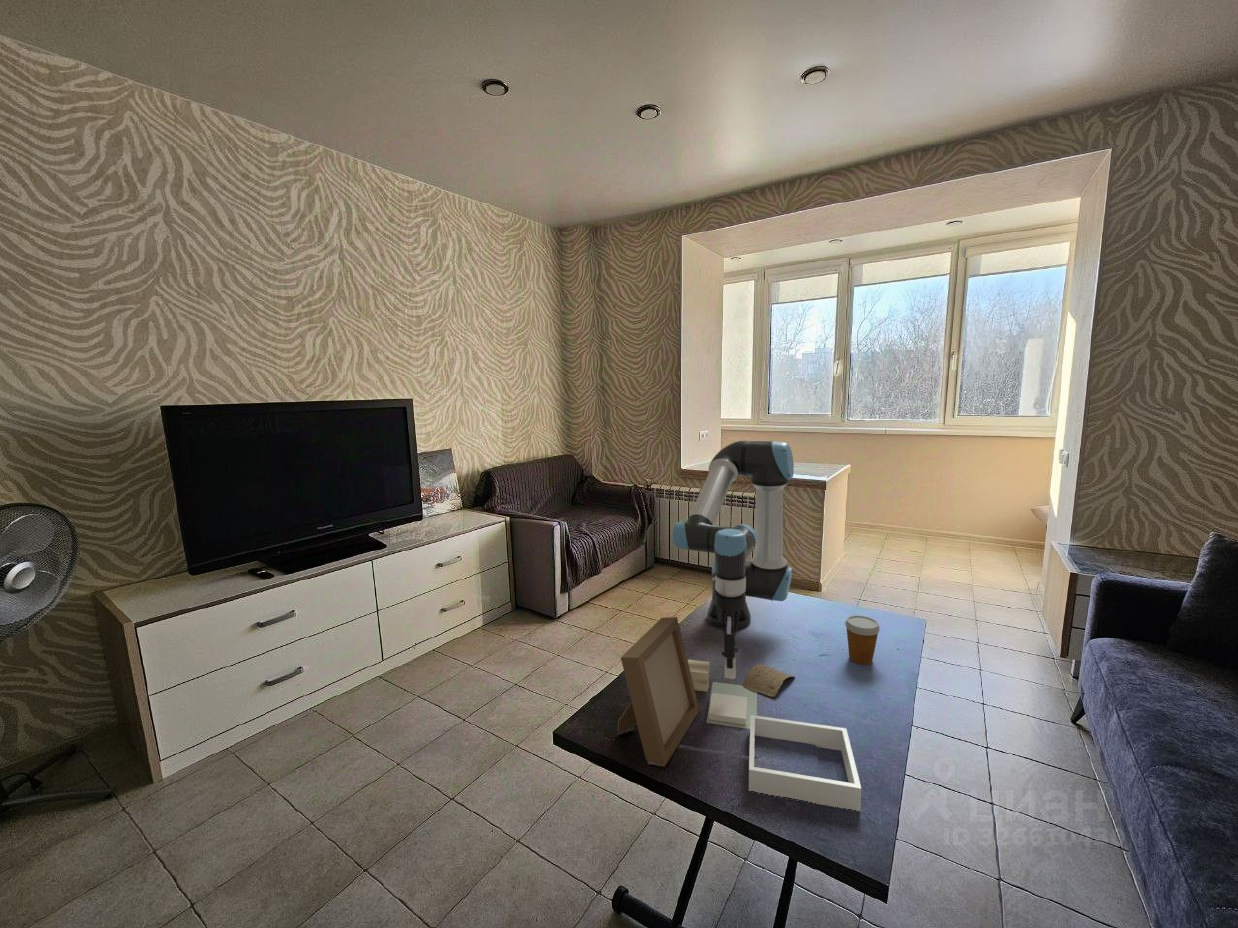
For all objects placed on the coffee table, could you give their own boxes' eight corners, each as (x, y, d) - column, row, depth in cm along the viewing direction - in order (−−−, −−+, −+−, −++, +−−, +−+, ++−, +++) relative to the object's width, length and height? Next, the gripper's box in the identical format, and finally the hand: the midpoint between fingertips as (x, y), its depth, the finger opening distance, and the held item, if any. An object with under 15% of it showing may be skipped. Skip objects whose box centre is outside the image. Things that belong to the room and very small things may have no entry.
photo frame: (699, 714, 129) (698, 621, 125) (664, 770, 110) (661, 663, 107) (647, 698, 136) (644, 610, 133) (605, 749, 117) (601, 648, 114)
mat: (712, 683, 142) (712, 681, 142) (757, 689, 139) (757, 687, 139) (706, 724, 125) (706, 722, 125) (756, 732, 122) (756, 729, 122)
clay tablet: (775, 699, 133) (775, 689, 133) (740, 685, 140) (740, 675, 139) (797, 678, 144) (797, 669, 144) (763, 666, 150) (764, 657, 150)
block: (688, 679, 145) (688, 659, 144) (709, 681, 143) (709, 661, 142) (685, 691, 139) (685, 670, 138) (707, 693, 138) (707, 673, 137)
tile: (712, 692, 134) (708, 713, 125) (747, 697, 132) (746, 718, 123) (712, 698, 134) (708, 719, 126) (747, 703, 132) (746, 725, 123)
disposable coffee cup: (870, 671, 146) (872, 632, 144) (837, 658, 153) (839, 621, 152) (883, 659, 152) (885, 621, 151) (852, 647, 159) (853, 611, 158)
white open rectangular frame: (750, 733, 121) (750, 714, 120) (845, 748, 116) (846, 728, 115) (748, 791, 104) (748, 769, 103) (860, 811, 98) (861, 788, 98)
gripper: (717, 579, 135) (717, 661, 139) (712, 600, 122) (713, 689, 126) (746, 581, 133) (745, 664, 137) (744, 603, 120) (744, 693, 124)
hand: (730, 676), depth 132 cm, fingers closed
